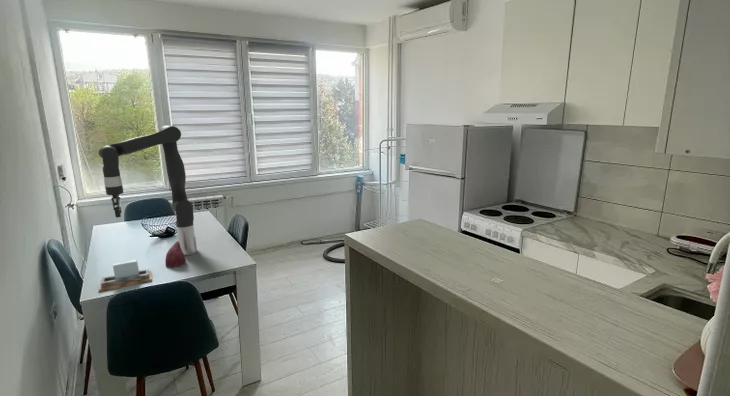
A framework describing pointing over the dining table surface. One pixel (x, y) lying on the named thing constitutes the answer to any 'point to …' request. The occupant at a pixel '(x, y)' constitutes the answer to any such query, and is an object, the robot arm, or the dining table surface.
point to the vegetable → (175, 256)
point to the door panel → (125, 269)
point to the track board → (125, 280)
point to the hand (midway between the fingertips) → (118, 215)
